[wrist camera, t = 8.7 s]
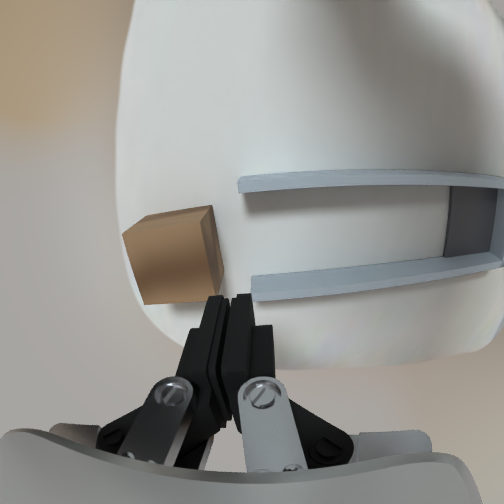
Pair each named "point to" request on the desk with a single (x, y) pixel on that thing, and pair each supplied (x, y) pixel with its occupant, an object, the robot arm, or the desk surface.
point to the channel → (406, 272)
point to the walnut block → (176, 256)
